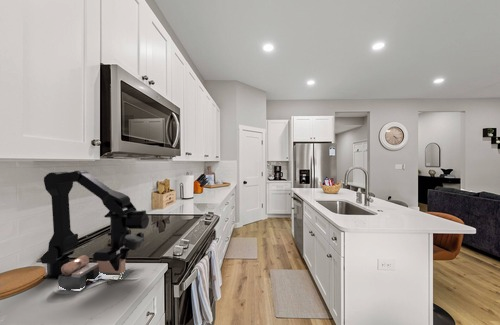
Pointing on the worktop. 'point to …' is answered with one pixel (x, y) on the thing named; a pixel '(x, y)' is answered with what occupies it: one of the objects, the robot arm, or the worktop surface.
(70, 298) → the worktop surface
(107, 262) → the salmon pink rectangular block
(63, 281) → the dispenser
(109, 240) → the vase
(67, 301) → the worktop surface
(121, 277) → the mat
